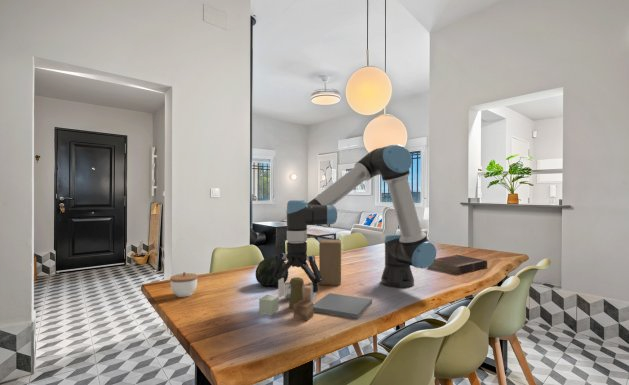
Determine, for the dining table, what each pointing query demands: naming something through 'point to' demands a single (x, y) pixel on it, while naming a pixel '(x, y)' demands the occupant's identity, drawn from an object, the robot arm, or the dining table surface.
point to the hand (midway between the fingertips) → (296, 298)
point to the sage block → (268, 304)
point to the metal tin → (287, 291)
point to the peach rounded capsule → (307, 293)
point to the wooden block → (330, 262)
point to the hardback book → (458, 264)
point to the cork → (296, 291)
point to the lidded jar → (184, 284)
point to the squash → (269, 271)
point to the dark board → (342, 305)
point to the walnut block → (303, 310)
